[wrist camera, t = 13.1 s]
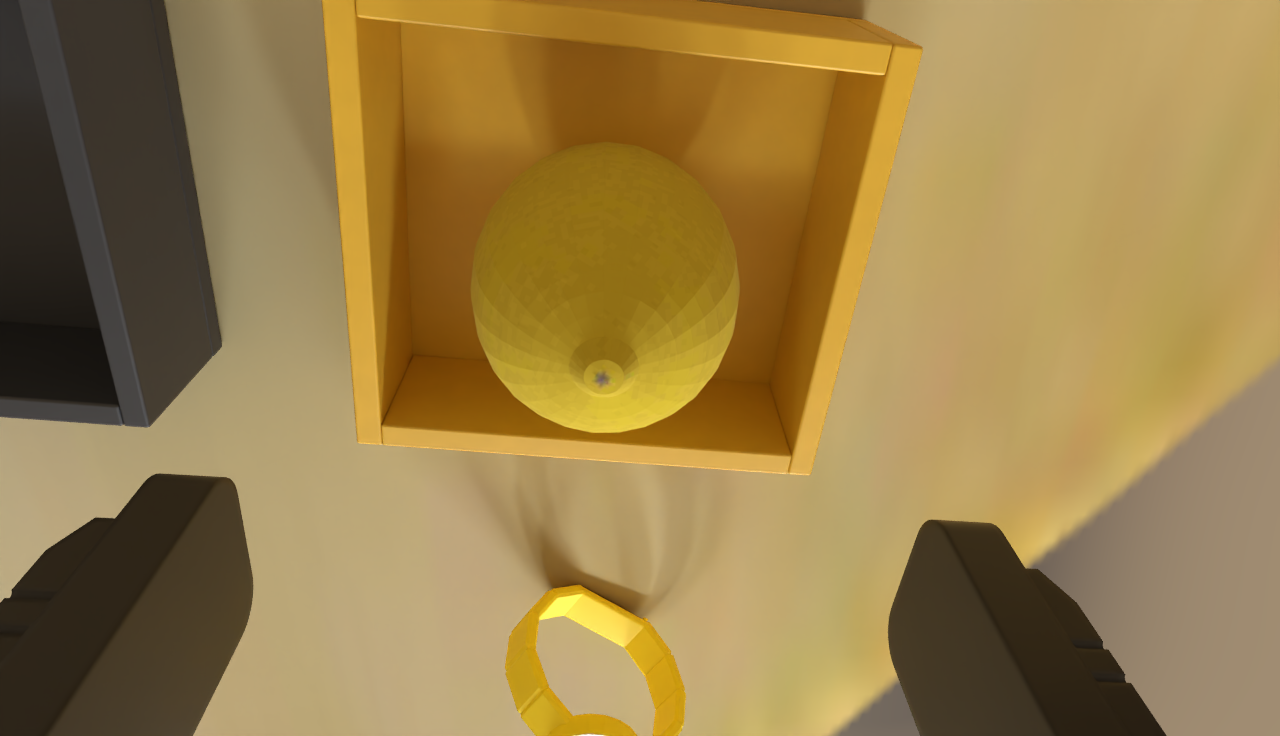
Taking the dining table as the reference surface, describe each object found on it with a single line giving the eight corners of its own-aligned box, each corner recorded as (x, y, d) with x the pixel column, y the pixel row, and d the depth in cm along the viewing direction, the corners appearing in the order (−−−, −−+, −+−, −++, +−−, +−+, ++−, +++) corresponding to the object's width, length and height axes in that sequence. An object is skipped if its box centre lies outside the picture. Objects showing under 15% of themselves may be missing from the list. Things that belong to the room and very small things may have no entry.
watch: (693, 619, 29) (709, 778, 23) (648, 664, 30) (655, 825, 24) (547, 549, 27) (530, 704, 22) (505, 600, 28) (479, 759, 23)
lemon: (504, 91, 19) (439, 199, 12) (736, 123, 19) (803, 246, 12) (492, 303, 22) (433, 494, 15) (696, 327, 22) (732, 521, 15)
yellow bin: (396, 360, 23) (356, 443, 19) (377, -37, 18) (319, -23, 14) (782, 391, 24) (811, 476, 20) (866, 19, 19) (925, 46, 15)
